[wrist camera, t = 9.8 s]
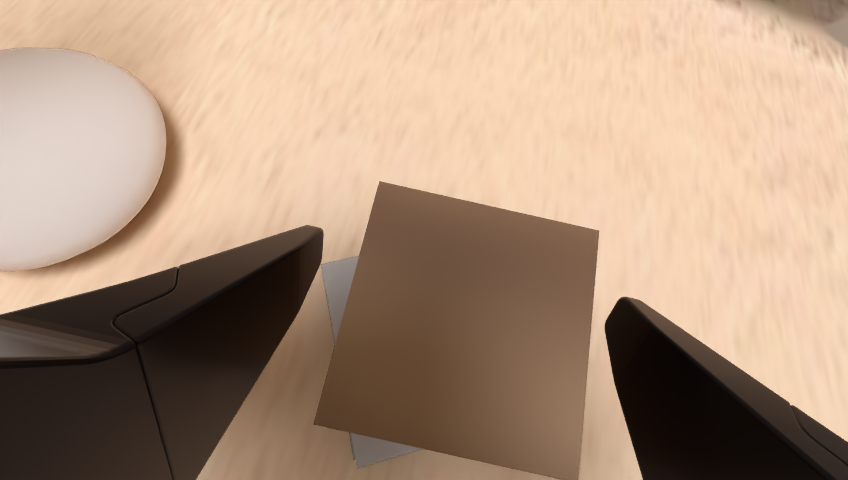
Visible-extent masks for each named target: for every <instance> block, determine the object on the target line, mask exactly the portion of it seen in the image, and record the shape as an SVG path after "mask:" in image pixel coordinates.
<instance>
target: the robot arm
mask: <svg viewBox="0 0 848 480" xmlns="http://www.w3.org/2000/svg"><path fill="white" fill-rule="evenodd" d="M322 250H323V230H322V229H321V228H318V227H314V226H310V225H305V226H302V227H299V228H296V229H293V230H290V231H287V232H283V233H280V234H277V235H274V236H271V237H268V238H265V239H262V240H258V241H255V242H252V243H249V244H246V245H243V246H240V247H236V248H233V249H230V250H227V251H224V252H221V253H218V254H215V255H211V256H208V257H205V258H202V259H199V260H196V261H193V262H189V263H186V264H183V265H180V266H179V269H178V267H173V268H170V269H167V270H164V271H161V272H158V273H155V274H151V275H148V276H145V277H141V278H138V279H135V280H132V281H128V282H124V283H121V284H117V285H113V286H109V287H106V288H102V289H98V290H95V291H91V292H87V293H83V294H79V295H75V296H71V297H67V298H63V299H60V300H56V301H52V302H48V303H44V304H40V305H36V306H32V307H29V308H25V309H21V310H17V311H13V312H9V313H5V314H0V480H196V478H197V477H198V475H199V474H200V472H201V470H202V469H203V467H204V465H205V464H206V462H207V461H208V459H209V457H210V456H211V454H212V452H213V451H214V449H215V448H216V446H217V444H218V443H219V441H220V439H221V438H222V436H223V434H224V433H225V431H226V430H227V428H228V426H229V425H230V423H231V421H232V420H233V418H234V417H235V415H236V413H237V412H238V410H239V408H240V407H241V405H242V404H243V402H244V400H245V399H246V397H247V395H248V394H249V392H250V391H251V389H252V387H253V386H254V384H255V382H256V381H257V379H258V378H259V376H260V374H261V373H262V371H263V369H264V368H265V366H266V364H267V363H268V361H269V360H270V358H271V356H272V355H273V353H274V351H275V350H276V348H277V347H278V345H279V343H280V342H281V340H282V338H283V337H284V335H285V334H286V332H287V330H288V329H289V327H290V325H291V324H292V322H293V321H294V319H295V317H296V315H297V314H298V312H299V310H300V308H301V306H302V303H303V301H304V299H305V297H306V295H307V292H308V290H309V288H310V286H311V284H312V281H313V279H314V277H315V275H316V272H317V270H318V268H319V266H320V263H321V259H322ZM605 334H606V339H607V345H608V350H609V356H610V362H611V367H612V373H613V378H614V382H615V386H616V390H617V394H618V397H619V400H620V404H621V407H622V410H623V414H624V417H625V421H626V424H627V427H628V431H629V434H630V437H631V441H632V444H633V447H634V451H635V454H636V458H637V461H638V464H639V468H640V471H641V474H642V478H643V480H848V442H847V441H845V440H844V439H842V438H841V437H839V436H838V435H836V434H835V433H833V432H832V431H830V430H829V429H827V428H826V427H824V426H823V425H821V424H820V423H819V422H817V421H816V420H814V419H813V418H811V417H810V416H808V415H807V414H805V413H804V412H802V411H801V410H799V409H798V408H797V407H795V406H793V405H790V403H789V402H788V401H786V400H785V399H783V398H782V397H780V396H779V395H777V394H776V393H775V392H773V391H772V390H770V389H769V388H767V387H766V386H764V385H763V384H761V383H760V382H759V381H757V380H756V379H754V378H753V377H751V376H750V375H748V374H747V373H745V372H744V371H742V370H741V369H740V368H738V367H737V366H735V365H734V364H732V363H731V362H729V361H728V360H726V359H725V358H724V357H722V356H721V355H719V354H718V353H716V352H715V351H713V350H712V349H710V348H709V347H707V346H706V345H705V344H703V343H702V342H700V341H699V340H697V339H696V338H694V337H693V336H691V335H690V334H689V333H687V332H686V331H684V330H683V329H681V328H680V327H678V326H677V325H675V324H674V323H672V322H671V321H670V320H668V319H667V318H665V317H664V316H662V315H661V314H659V313H658V312H656V311H655V310H654V309H652V308H651V307H649V306H648V305H646V304H645V303H643V302H642V301H640V300H638V299H634V298H629V297H621V298H620V299H619V300H618V301H617V303H616V304H615V306H614V308H613V310H612V311H611V313H610V315H609V316H608V318H607V320H606V323H605Z"/></svg>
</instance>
